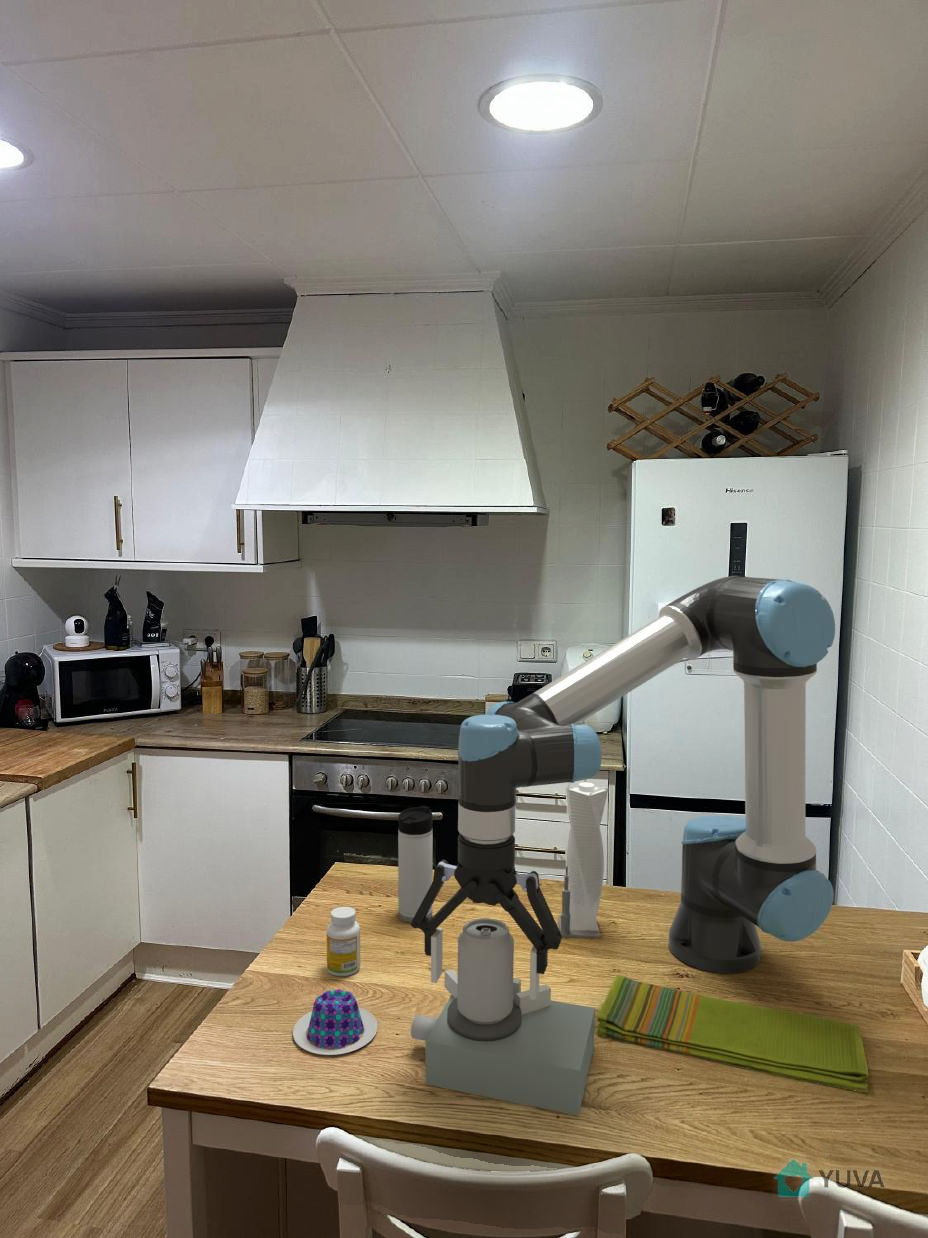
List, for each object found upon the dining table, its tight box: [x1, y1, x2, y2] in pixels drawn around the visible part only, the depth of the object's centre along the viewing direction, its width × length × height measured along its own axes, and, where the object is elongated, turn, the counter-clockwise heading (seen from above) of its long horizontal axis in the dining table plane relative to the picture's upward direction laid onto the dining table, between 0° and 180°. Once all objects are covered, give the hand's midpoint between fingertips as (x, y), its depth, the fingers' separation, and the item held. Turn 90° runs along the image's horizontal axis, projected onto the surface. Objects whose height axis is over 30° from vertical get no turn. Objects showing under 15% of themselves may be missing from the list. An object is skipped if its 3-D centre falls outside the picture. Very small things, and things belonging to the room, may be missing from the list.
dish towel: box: [596, 974, 869, 1093], centre depth 122 cm, size 15×36×3 cm, turn 70°
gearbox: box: [410, 968, 596, 1117], centre depth 114 cm, size 24×14×8 cm, turn 74°
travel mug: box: [397, 805, 434, 924], centre depth 155 cm, size 6×7×20 cm
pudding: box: [292, 988, 378, 1056], centre depth 121 cm, size 12×12×5 cm
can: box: [457, 917, 515, 1025], centre depth 113 cm, size 8×8×12 cm
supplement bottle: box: [326, 906, 361, 977], centre depth 137 cm, size 5×5×10 cm
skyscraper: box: [557, 779, 609, 939], centre depth 151 cm, size 8×8×28 cm
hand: (484, 986), depth 114 cm, fingers open, 13 cm apart
